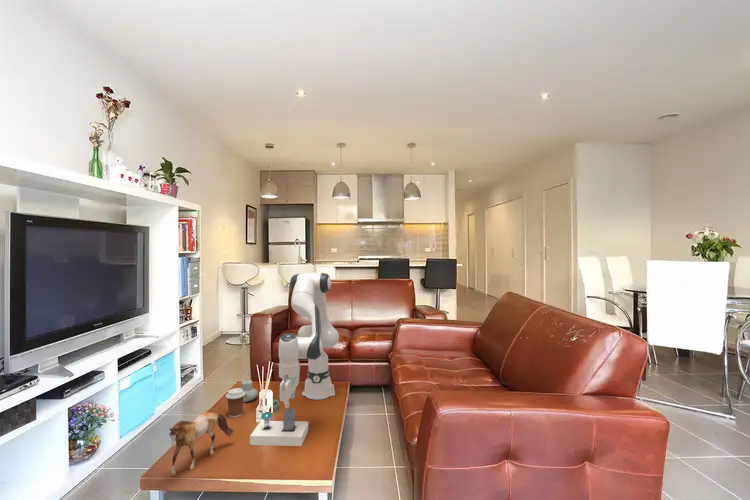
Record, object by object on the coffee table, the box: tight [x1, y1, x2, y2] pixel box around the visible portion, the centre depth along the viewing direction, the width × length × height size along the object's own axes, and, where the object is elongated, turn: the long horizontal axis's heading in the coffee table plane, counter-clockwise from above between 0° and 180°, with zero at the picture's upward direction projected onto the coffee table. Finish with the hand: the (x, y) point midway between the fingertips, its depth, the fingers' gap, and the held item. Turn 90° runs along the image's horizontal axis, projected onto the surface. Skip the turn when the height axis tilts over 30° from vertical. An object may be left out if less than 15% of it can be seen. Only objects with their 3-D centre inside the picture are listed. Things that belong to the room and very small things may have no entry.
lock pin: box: [261, 412, 273, 430], centre depth 170 cm, size 4×4×6 cm
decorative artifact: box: [272, 397, 280, 413], centre depth 199 cm, size 10×7×10 cm
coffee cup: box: [225, 387, 245, 418], centre depth 193 cm, size 9×9×12 cm
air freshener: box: [240, 379, 258, 403], centre depth 211 cm, size 11×8×10 cm
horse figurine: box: [169, 412, 236, 477], centre depth 152 cm, size 31×8×21 cm, turn 158°
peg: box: [282, 408, 296, 432], centre depth 170 cm, size 4×4×12 cm
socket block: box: [249, 420, 309, 447], centre depth 170 cm, size 14×22×4 cm, turn 88°
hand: (290, 402), depth 170 cm, fingers open, 8 cm apart
